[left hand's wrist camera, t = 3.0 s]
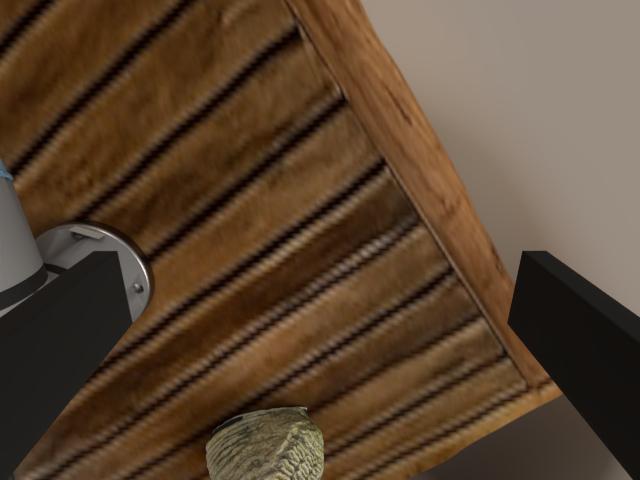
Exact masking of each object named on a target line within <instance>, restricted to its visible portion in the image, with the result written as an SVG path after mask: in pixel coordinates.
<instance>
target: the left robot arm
mask: <svg viewBox="0 0 640 480" xmlns="http://www.w3.org/2000/svg"><path fill="white" fill-rule="evenodd" d="M12 181H13V177H12V175H11V174H10V173H8V172H7V171H6V169H5V167H4V164H3V162H2V160H1V158H0V480H14V477H13V474H12V473H13V472H14V470H15V469H16V468H17V467H18V466H19V464H20V463H21V462H22V461H23V459H24V458H25V457H26V456H27V454H28V453H29V452H30V451H31V449H32V448H33V447H34V446H35V444H36V443H37V442H38V441H39V439H40V438H41V437H42V436H43V434H44V433H45V432H46V431H47V429H48V428H49V427H50V426H51V424H52V423H53V422H54V421H55V419H56V418H57V417H58V416H59V414H60V413H61V412H62V411H63V409H64V408H65V407H66V406H67V405H68V403H69V402H70V401H71V400H72V398H73V397H74V396H75V395H76V393H77V392H78V391H79V390H80V388H81V387H82V386H83V385H84V383H85V382H86V381H87V380H88V378H89V377H90V376H91V375H92V373H93V372H94V371H95V370H96V368H97V367H98V366H99V365H100V363H101V362H102V361H103V360H104V358H105V357H106V356H107V355H108V353H109V352H110V351H111V350H112V348H113V347H114V346H115V345H116V343H117V342H118V341H119V340H120V339H121V337H122V336H123V335H124V334H125V332H126V331H127V330H128V329H129V327H130V326H131V325H132V324H133V323H134V322H135V321H136V320H137V319H138V318H139V317H140V316H141V315H142V313H143V312H144V311H145V310H146V308H147V307H148V305H149V304H150V302H151V300H152V297H153V293H154V275H153V271H152V268H151V265H150V263H149V261H148V259H147V257H146V256H145V254H144V253H143V251H142V250H141V249H140V247H139V246H138V245H137V244H136V243H135V242H134V241H133V240H132V239H130V238H129V237H128V236H126V235H125V234H124V233H122V232H120V231H119V230H117V229H115V228H113V227H111V226H108V225H106V224H102V223H99V222H94V221H85V220H79V221H70V222H66V223H63V224H60V225H58V226H56V227H54V228H52V229H50V230H48V231H46V232H44V233H43V234H41V235H40V236H39V237H38V238H36V239H34V237H33V234H32V232H31V229H30V227H29V224H28V222H27V219H26V217H25V214H24V211H23V209H22V206H21V204H20V201H19V199H18V196H17V194H16V191H15V188H14V186H13V183H12ZM507 324H508V325H509V326H510V327H511V329H512V330H513V331H514V332H515V334H516V335H517V336H518V337H519V339H520V340H521V341H522V342H523V344H524V345H525V346H526V347H527V348H528V350H529V351H530V352H531V353H532V355H533V356H534V357H535V358H536V360H537V361H538V362H539V363H540V365H541V366H542V367H543V368H544V370H545V371H546V372H547V373H548V375H549V376H550V377H551V378H552V380H553V381H554V382H555V383H556V385H557V386H558V387H559V388H560V390H561V391H562V392H563V393H564V395H565V396H566V397H567V398H568V400H569V401H570V402H571V403H572V405H573V406H574V407H575V408H576V409H577V411H578V412H579V413H580V414H581V416H582V417H583V418H584V419H585V421H586V422H587V423H588V424H589V426H590V427H591V428H592V429H593V431H594V432H595V433H596V434H597V436H598V437H599V438H600V439H601V441H602V442H603V443H604V444H605V446H606V447H607V448H608V449H609V451H610V452H611V453H612V454H613V456H614V457H615V458H616V459H617V461H618V462H619V463H620V464H621V466H622V467H623V468H624V469H625V470H626V472H627V473H628V474H629V475H630V477H631V478H632V479H633V480H640V317H638V316H637V315H636V314H634V313H633V312H631V311H630V310H629V309H627V308H626V307H624V306H623V305H621V304H620V303H619V302H617V301H616V300H615V299H613V298H612V297H610V296H609V295H607V294H606V293H605V292H603V291H602V290H600V289H599V288H598V287H596V286H595V285H593V284H592V283H591V282H589V281H588V280H586V279H585V278H584V277H582V276H581V275H579V274H578V273H576V272H575V271H574V270H572V269H571V268H570V267H568V266H567V265H565V264H564V263H562V262H561V261H560V260H558V259H557V258H555V257H554V256H553V255H551V254H550V253H548V252H547V251H522V256H521V260H520V265H519V270H518V275H517V280H516V284H515V289H514V294H513V299H512V303H511V308H510V313H509V318H508V322H507Z"/></svg>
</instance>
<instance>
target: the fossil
mask: <svg viewBox="0 0 640 480" xmlns="http://www.w3.org/2000/svg"><path fill="white" fill-rule="evenodd" d="M323 446H324V445H323V437H322V432H321V431H320V429H319V428H318V427H317V426H316V425H314V424H313V423H312V422H311V420H309V417H308V414H307V408H305V407H287V408H274V409H270V410H259V411H255V412H250V413H246V414H242V415H239V416H236V417H233V418H232V419H230V420H228V421H226V422H225V423H224V424H223V425H220V426H218V427H217V428H216V429H215V430H214V431H213V432H212V436H211V438H210V440H209V441H208V442H207V443H206V451H207V454H206V460H207V467H208V470H209V474H210V477H211V479H212V480H321V479H320V478H321V475H322V473H323V468H324V467H323V464H324V463H323V460H324V452H323Z"/></svg>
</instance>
